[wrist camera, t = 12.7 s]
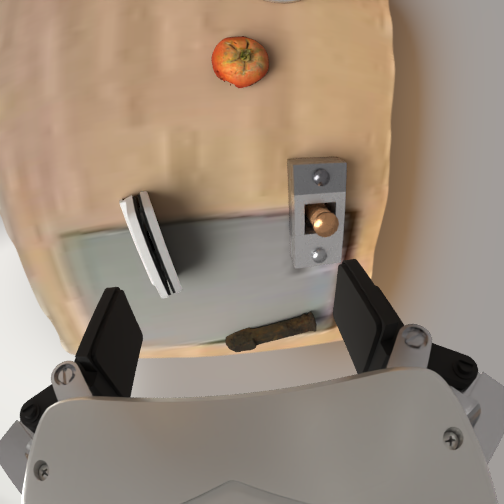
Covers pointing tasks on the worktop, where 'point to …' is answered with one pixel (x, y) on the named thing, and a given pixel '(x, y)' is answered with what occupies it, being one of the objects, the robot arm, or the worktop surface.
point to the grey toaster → (152, 260)
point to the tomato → (240, 61)
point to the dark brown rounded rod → (270, 333)
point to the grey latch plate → (309, 192)
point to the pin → (321, 219)
